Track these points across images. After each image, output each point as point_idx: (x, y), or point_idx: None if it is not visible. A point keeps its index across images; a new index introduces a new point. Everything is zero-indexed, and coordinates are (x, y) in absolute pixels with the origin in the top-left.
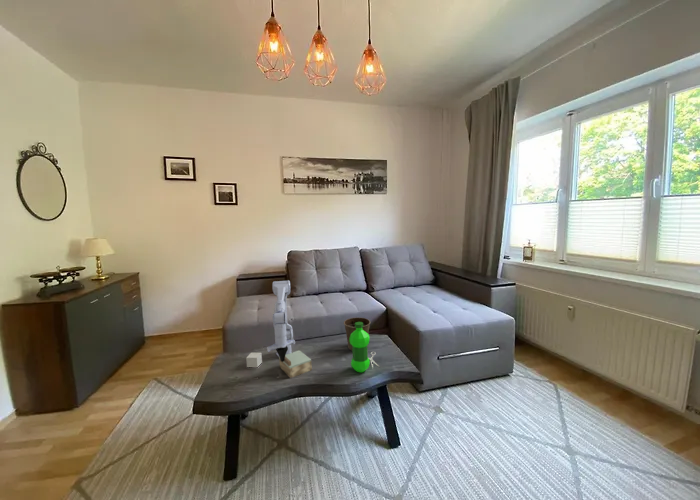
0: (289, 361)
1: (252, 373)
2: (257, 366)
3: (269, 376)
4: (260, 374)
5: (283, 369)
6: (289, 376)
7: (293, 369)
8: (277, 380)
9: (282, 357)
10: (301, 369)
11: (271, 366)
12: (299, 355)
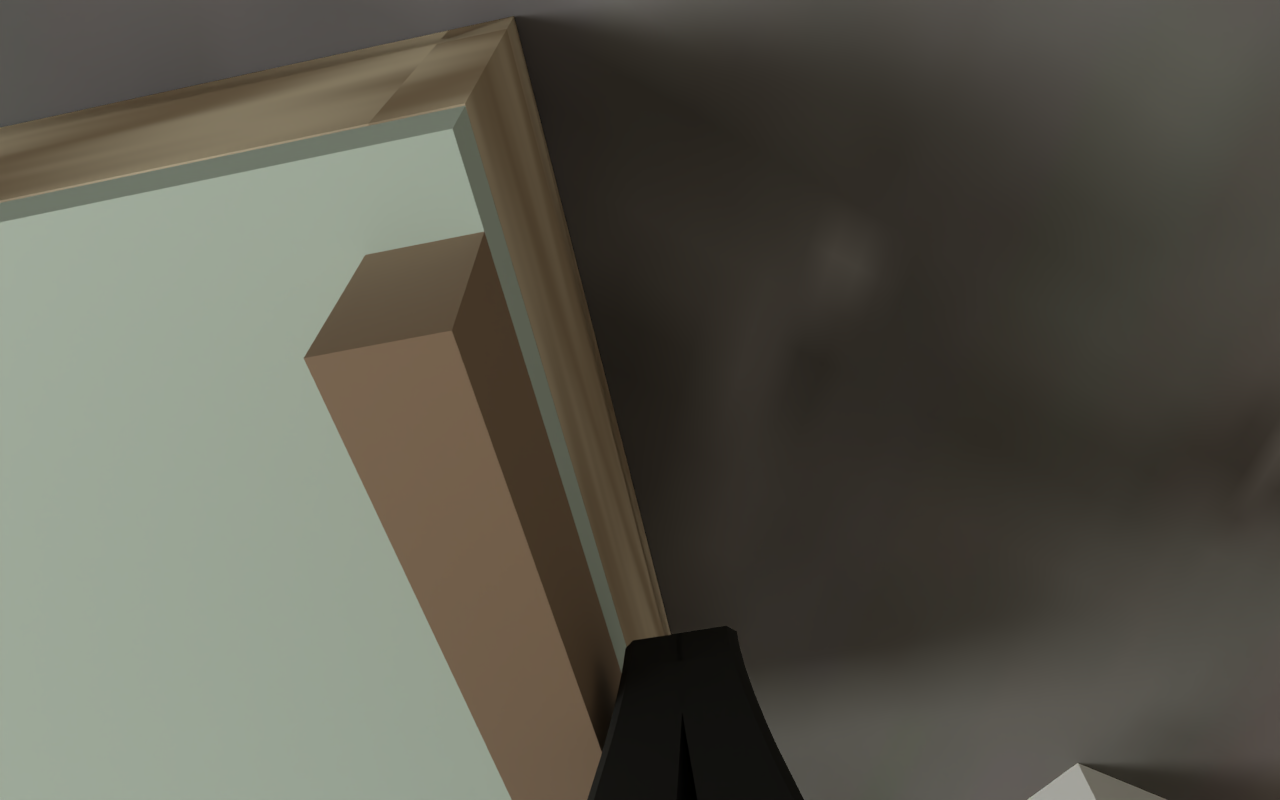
0: (397, 411)
1: (1257, 648)
2: (1096, 797)
3: (1022, 395)
4: (1149, 556)
5: (632, 505)
6: (533, 107)
7: (319, 114)
8: (923, 87)
9: (726, 795)
10: (32, 146)
11: (824, 727)
12: (24, 791)
